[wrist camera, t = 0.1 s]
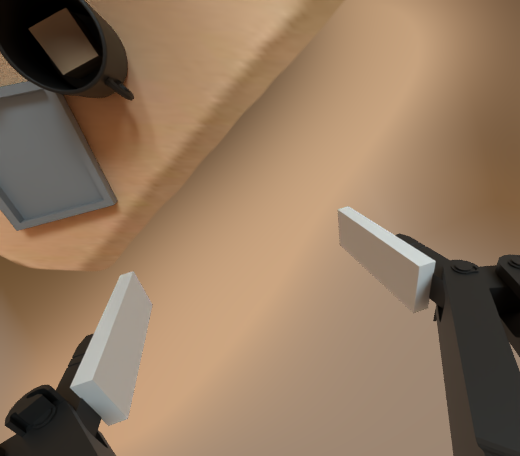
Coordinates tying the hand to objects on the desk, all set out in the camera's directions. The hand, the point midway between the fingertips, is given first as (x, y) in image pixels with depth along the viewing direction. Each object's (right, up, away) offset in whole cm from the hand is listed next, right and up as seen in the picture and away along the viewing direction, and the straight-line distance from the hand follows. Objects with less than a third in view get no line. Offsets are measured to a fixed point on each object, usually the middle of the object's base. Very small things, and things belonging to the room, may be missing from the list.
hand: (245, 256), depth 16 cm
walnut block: (-21, +24, +15) cm, 35 cm away
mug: (-20, +23, +16) cm, 35 cm away
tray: (-30, +11, +19) cm, 37 cm away
